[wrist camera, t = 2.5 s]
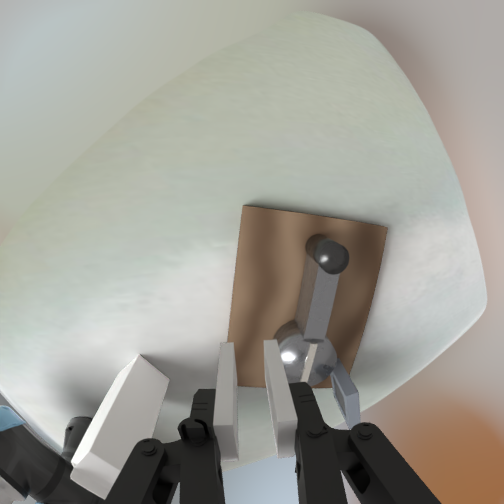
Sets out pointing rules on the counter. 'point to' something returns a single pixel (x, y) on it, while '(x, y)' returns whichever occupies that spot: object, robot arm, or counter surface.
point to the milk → (119, 426)
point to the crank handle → (313, 314)
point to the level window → (345, 394)
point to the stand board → (297, 284)
